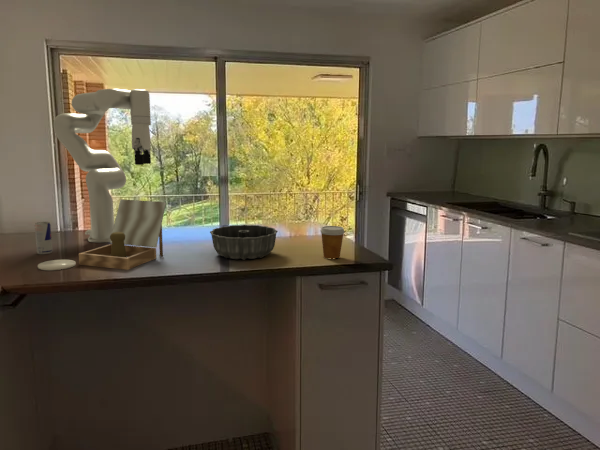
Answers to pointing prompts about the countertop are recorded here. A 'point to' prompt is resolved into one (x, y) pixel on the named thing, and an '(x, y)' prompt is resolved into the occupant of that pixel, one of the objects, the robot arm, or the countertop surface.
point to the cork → (118, 244)
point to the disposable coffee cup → (332, 241)
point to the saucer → (56, 264)
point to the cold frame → (131, 236)
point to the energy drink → (43, 237)
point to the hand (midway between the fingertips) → (143, 164)
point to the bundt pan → (243, 241)
